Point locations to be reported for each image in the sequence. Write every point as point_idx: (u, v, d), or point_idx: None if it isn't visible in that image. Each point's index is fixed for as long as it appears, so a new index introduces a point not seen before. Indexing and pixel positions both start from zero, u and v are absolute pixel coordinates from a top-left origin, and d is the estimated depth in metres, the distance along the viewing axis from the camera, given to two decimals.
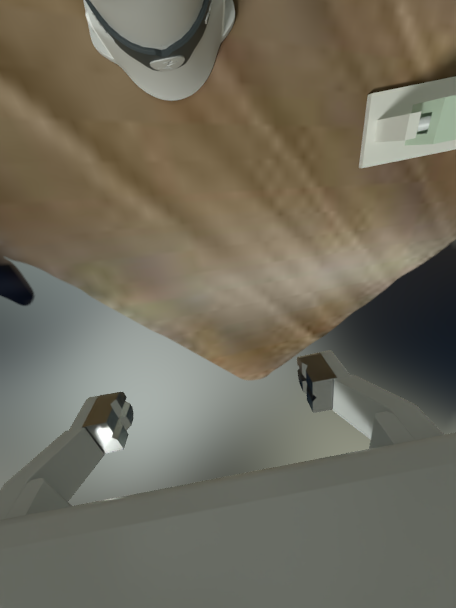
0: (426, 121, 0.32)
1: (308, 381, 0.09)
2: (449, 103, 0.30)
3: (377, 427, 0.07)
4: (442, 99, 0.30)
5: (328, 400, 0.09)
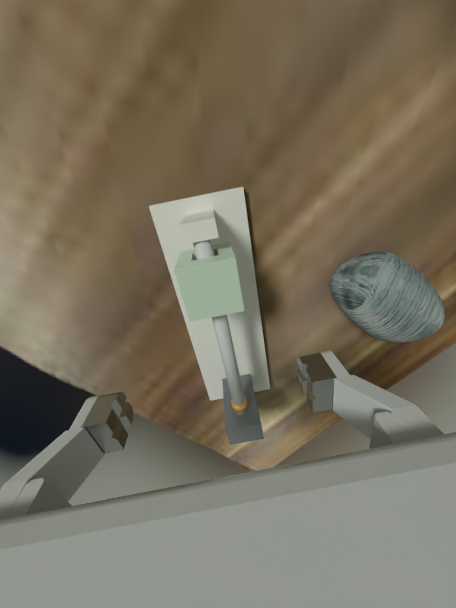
0: (206, 254, 0.20)
1: (308, 381, 0.09)
2: (227, 268, 0.19)
3: (377, 427, 0.07)
4: (232, 256, 0.19)
5: (328, 400, 0.09)
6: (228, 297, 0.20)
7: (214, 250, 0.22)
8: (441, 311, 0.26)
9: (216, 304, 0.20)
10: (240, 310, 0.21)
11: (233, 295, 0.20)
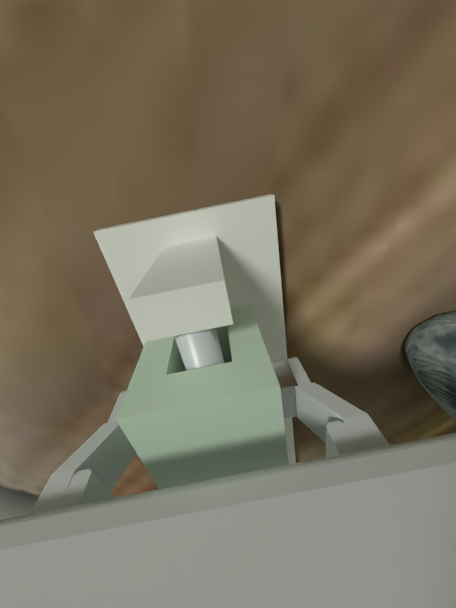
0: (204, 355, 0.09)
1: None
2: (258, 409, 0.07)
3: (328, 436, 0.07)
4: (271, 379, 0.07)
5: (291, 407, 0.09)
6: (255, 457, 0.08)
7: (220, 329, 0.10)
8: None
9: (227, 471, 0.09)
10: None
11: (267, 454, 0.08)
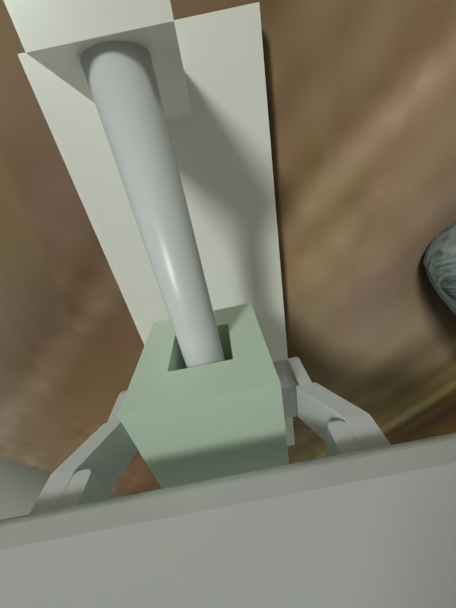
0: (136, 116, 0.05)
1: None
2: (259, 406, 0.07)
3: (330, 436, 0.07)
4: (271, 376, 0.07)
5: (292, 407, 0.09)
6: (256, 454, 0.08)
7: (221, 327, 0.10)
8: None
9: (228, 468, 0.09)
10: None
11: (268, 451, 0.08)
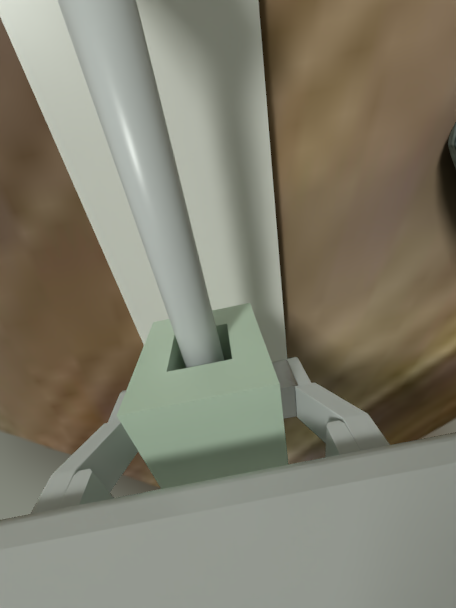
0: None
1: None
2: (258, 406, 0.07)
3: (328, 436, 0.07)
4: (270, 376, 0.07)
5: (291, 407, 0.09)
6: (255, 454, 0.08)
7: (220, 327, 0.10)
8: None
9: (227, 468, 0.09)
10: None
11: (267, 451, 0.08)
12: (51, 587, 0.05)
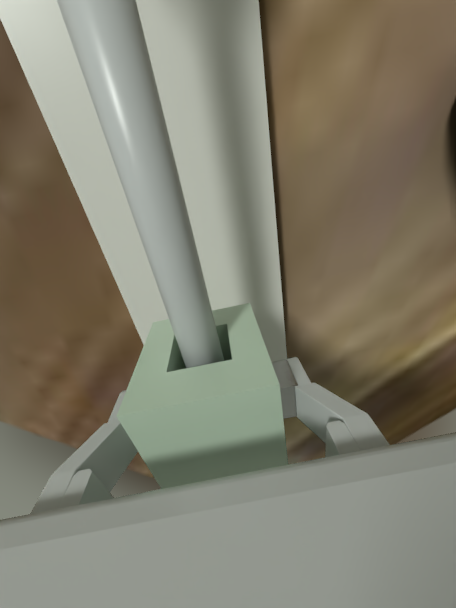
0: None
1: None
2: (258, 406, 0.07)
3: (328, 436, 0.07)
4: (270, 376, 0.07)
5: (291, 407, 0.09)
6: (255, 454, 0.08)
7: (220, 327, 0.10)
8: None
9: (226, 468, 0.09)
10: None
11: (267, 451, 0.08)
12: (51, 587, 0.05)
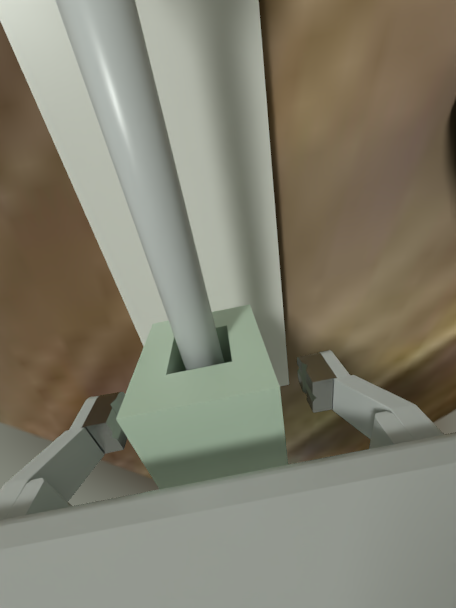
0: None
1: (308, 381, 0.09)
2: (258, 409, 0.07)
3: (377, 427, 0.07)
4: (270, 379, 0.07)
5: (328, 400, 0.09)
6: (255, 457, 0.08)
7: (220, 329, 0.10)
8: None
9: (226, 471, 0.09)
10: None
11: (267, 454, 0.08)
12: (51, 587, 0.05)
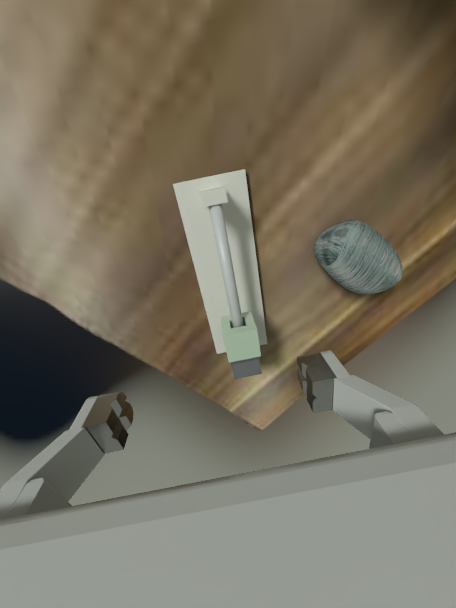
0: (219, 215, 0.28)
1: (308, 381, 0.09)
2: (252, 334, 0.33)
3: (377, 427, 0.07)
4: (255, 328, 0.33)
5: (328, 400, 0.09)
6: (252, 349, 0.35)
7: (242, 318, 0.37)
8: (398, 266, 0.33)
9: (245, 353, 0.35)
10: (258, 356, 0.35)
11: (255, 348, 0.35)
12: (51, 587, 0.05)
